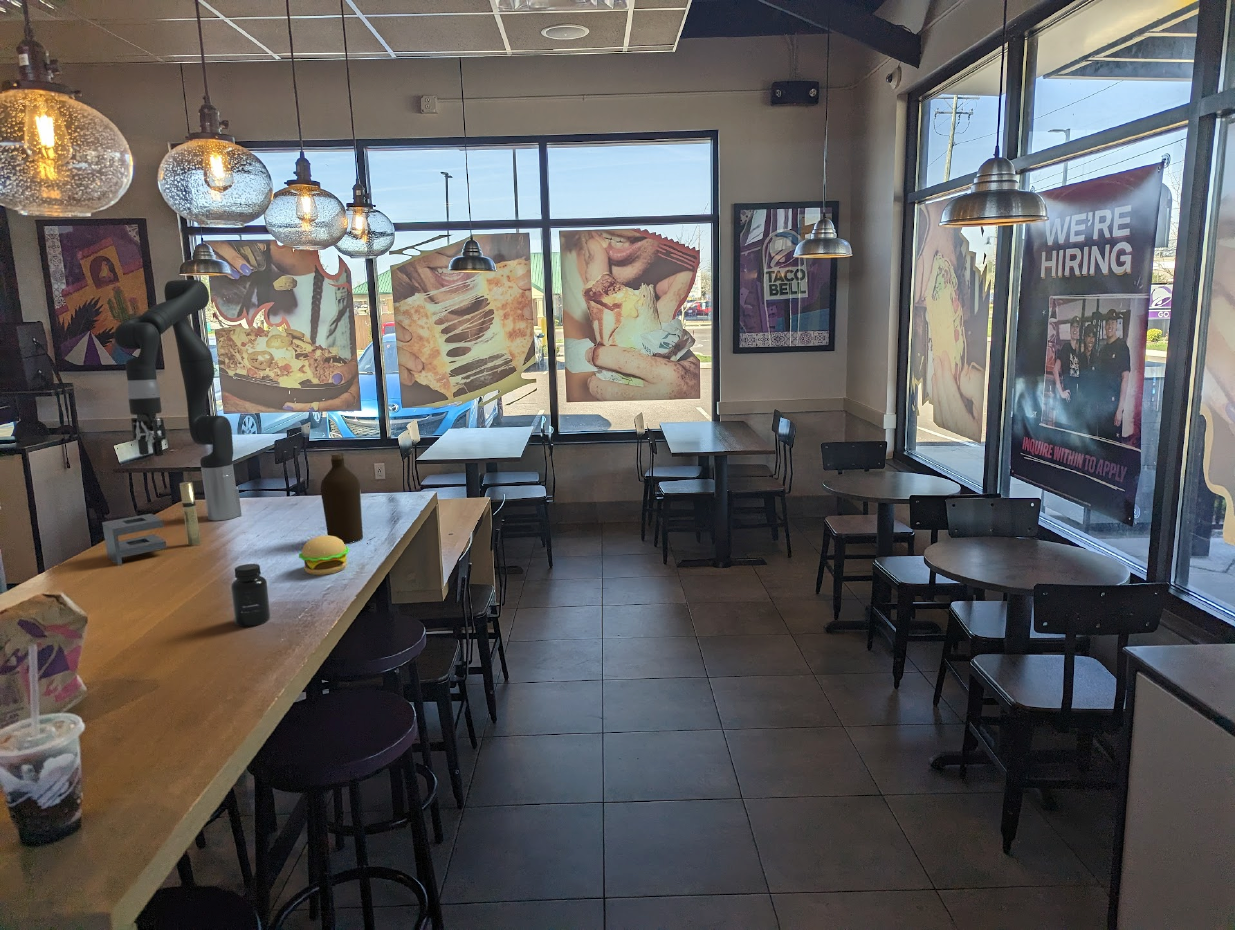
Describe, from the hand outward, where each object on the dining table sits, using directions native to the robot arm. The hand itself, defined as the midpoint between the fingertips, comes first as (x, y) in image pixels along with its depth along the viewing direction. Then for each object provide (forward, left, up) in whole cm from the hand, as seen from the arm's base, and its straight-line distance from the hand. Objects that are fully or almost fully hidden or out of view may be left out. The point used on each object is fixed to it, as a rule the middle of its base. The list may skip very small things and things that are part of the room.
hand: (151, 455), depth 222 cm
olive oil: (-38, +34, -27) cm, 58 cm away
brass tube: (-7, +3, -27) cm, 28 cm away
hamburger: (-22, +56, -27) cm, 66 cm away
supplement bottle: (+4, +78, -27) cm, 83 cm away
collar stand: (+7, +3, -27) cm, 28 cm away
